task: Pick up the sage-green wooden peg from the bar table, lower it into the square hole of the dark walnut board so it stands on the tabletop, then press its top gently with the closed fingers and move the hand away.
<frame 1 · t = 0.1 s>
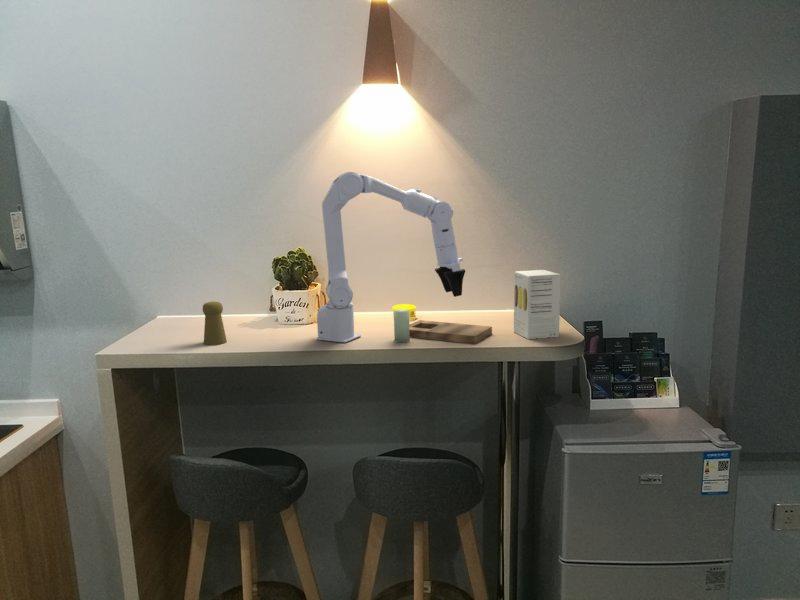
hand: (453, 293, 176), 11 cm above the table, tool pointing down, fingers open, 7 cm apart
cork: (215, 343, 171), on the table
supplement box: (536, 335, 172), on the table
peg: (402, 340, 169), on the table
walnut board: (445, 334, 173), on the table
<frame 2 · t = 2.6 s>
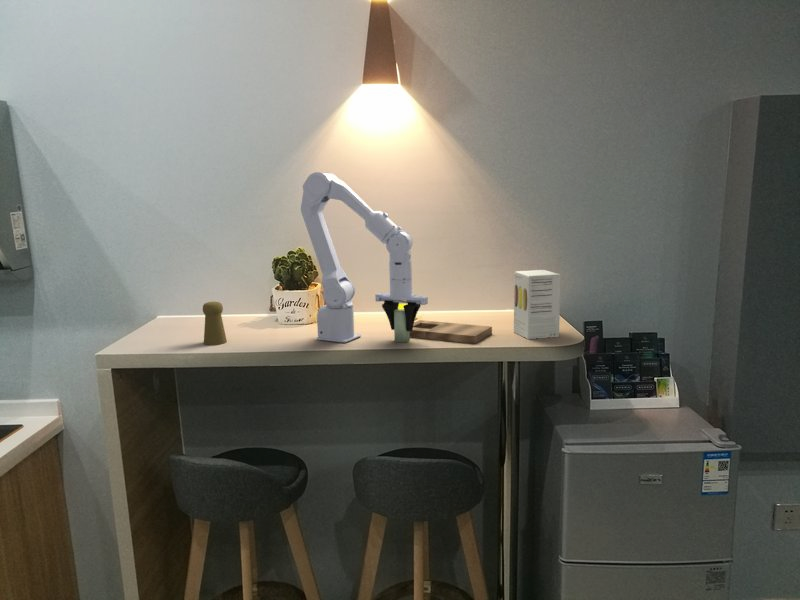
hand: (401, 329, 168), 3 cm above the table, tool pointing down, fingers closed on peg, 4 cm apart
peg: (402, 340, 169), on the table, touching gripper
everything else where it was.
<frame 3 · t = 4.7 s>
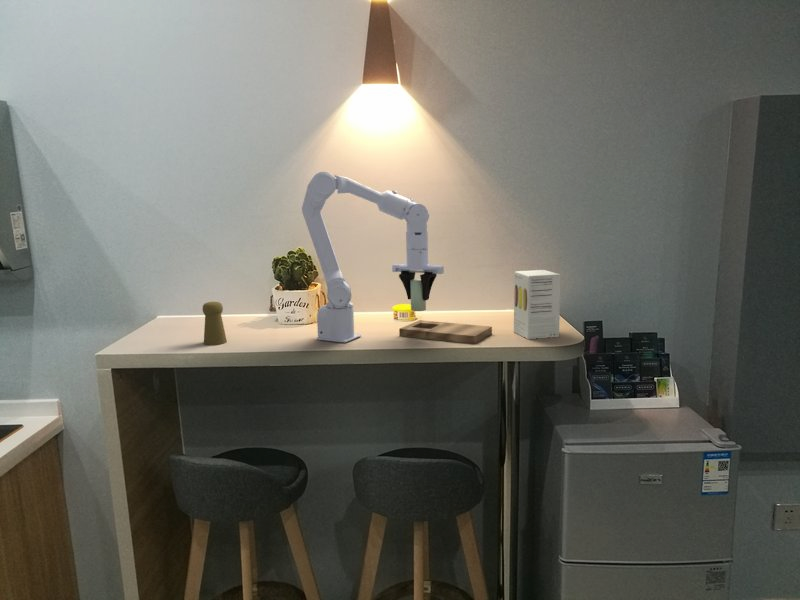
hand: (418, 299, 172), 10 cm above the table, tool pointing down, fingers closed on peg, 4 cm apart
peg: (418, 309, 173), point 7 cm above the table, touching gripper
everything else where it was.
when the fingers open (3 cm above the table, at t = 7.0 s): peg stays where it is, resting in walnut board.
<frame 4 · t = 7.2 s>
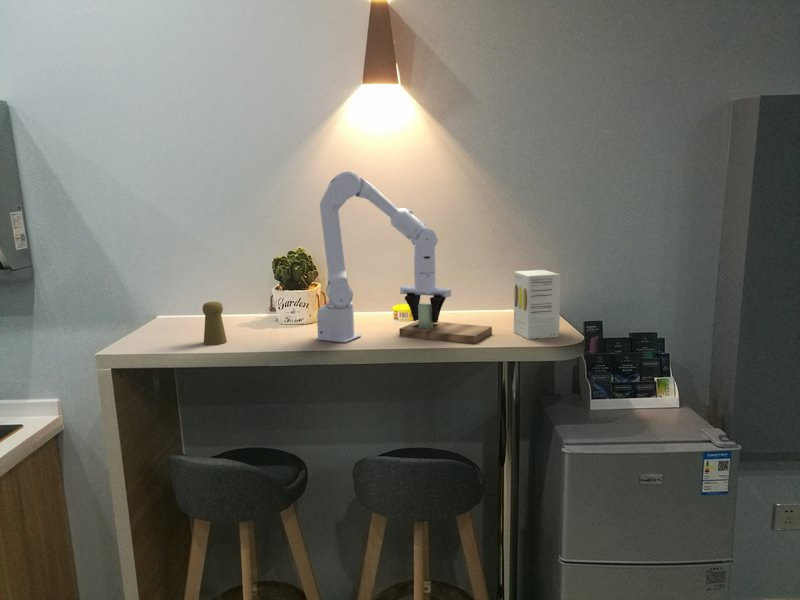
hand: (425, 321, 176), 3 cm above the table, tool pointing down, fingers open, 5 cm apart
peg: (425, 333, 176), resting in walnut board
everything else where it was.
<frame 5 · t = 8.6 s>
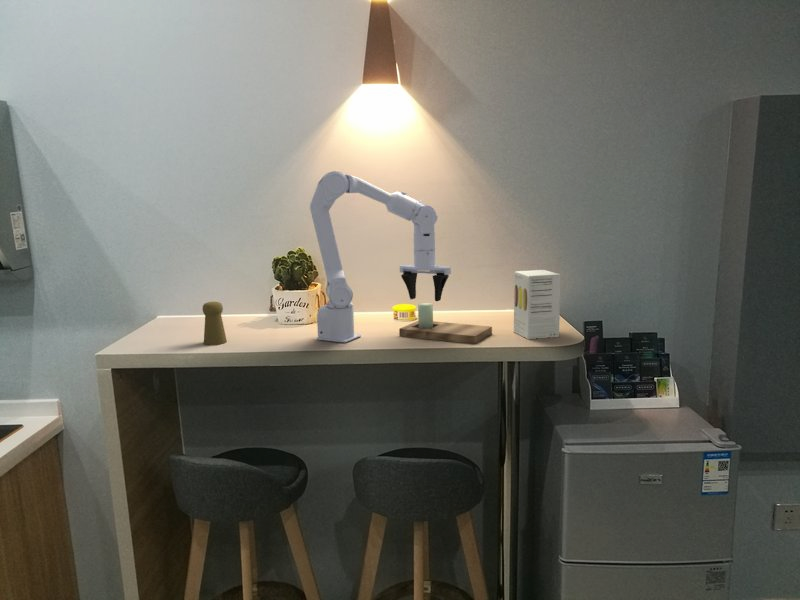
hand: (425, 299, 175), 9 cm above the table, tool pointing down, fingers open, 7 cm apart
nothing on the table moved.
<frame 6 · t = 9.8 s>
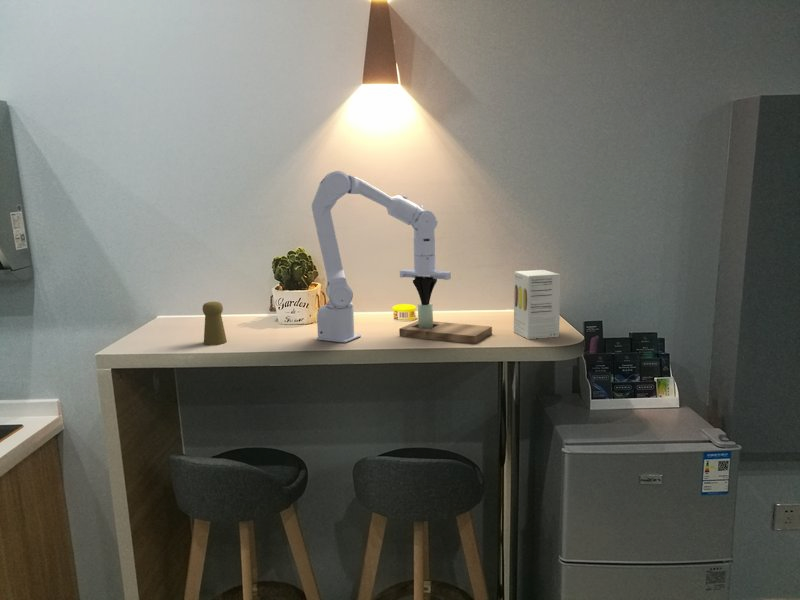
hand: (425, 304, 175), 8 cm above the table, tool pointing down, fingers closed, pressing on peg
peg: (425, 332, 176), resting in walnut board, touching gripper
everything else where it was.
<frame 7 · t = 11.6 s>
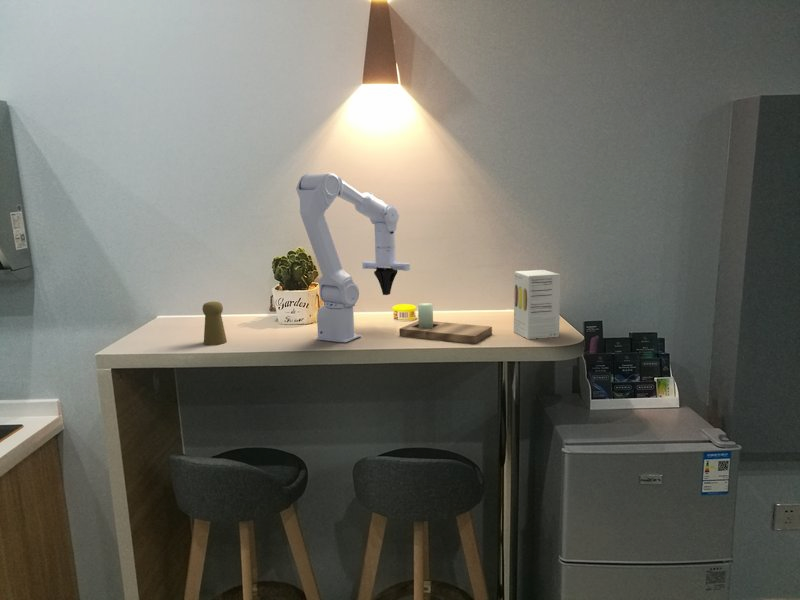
hand: (386, 294, 184), 9 cm above the table, tool pointing down, fingers closed
peg: (425, 333, 176), resting in walnut board
everything else where it was.
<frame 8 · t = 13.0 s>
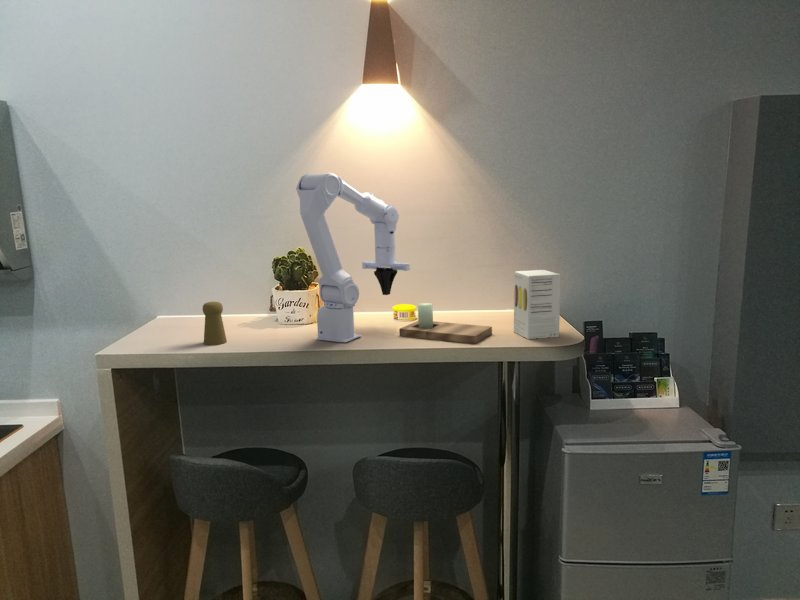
hand: (386, 294, 184), 9 cm above the table, tool pointing down, fingers closed
nothing on the table moved.
at the end: peg 0.0 cm from the target spot, resting in walnut board; peg tilted 0°; the gripper is holding nothing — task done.
